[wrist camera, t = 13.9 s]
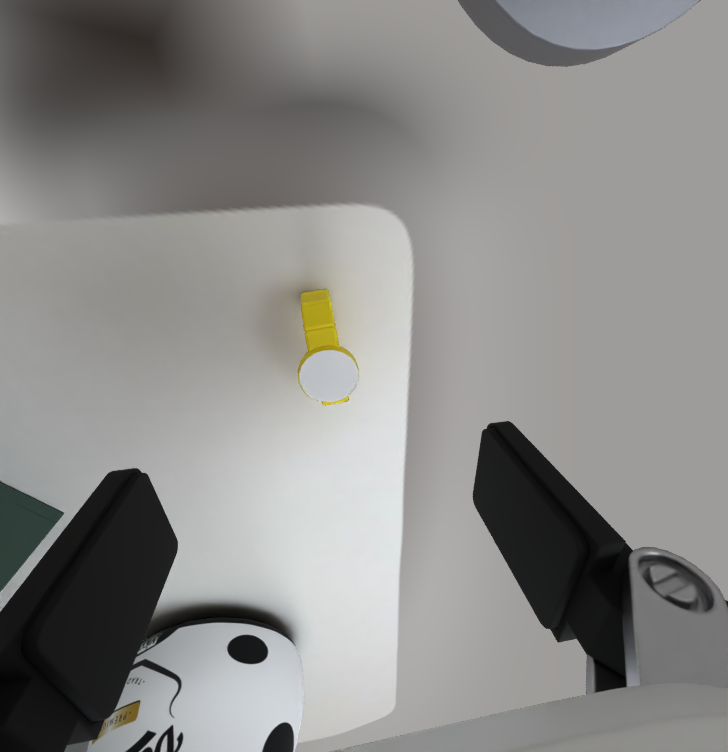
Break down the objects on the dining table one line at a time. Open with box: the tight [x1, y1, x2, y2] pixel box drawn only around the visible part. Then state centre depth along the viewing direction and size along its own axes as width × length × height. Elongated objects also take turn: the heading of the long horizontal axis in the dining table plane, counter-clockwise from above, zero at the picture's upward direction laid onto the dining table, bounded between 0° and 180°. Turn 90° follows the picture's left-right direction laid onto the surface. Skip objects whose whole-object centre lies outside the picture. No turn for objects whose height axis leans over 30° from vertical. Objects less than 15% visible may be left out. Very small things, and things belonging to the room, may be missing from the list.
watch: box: [298, 289, 359, 406], centre depth 17 cm, size 6×3×6 cm, turn 8°
